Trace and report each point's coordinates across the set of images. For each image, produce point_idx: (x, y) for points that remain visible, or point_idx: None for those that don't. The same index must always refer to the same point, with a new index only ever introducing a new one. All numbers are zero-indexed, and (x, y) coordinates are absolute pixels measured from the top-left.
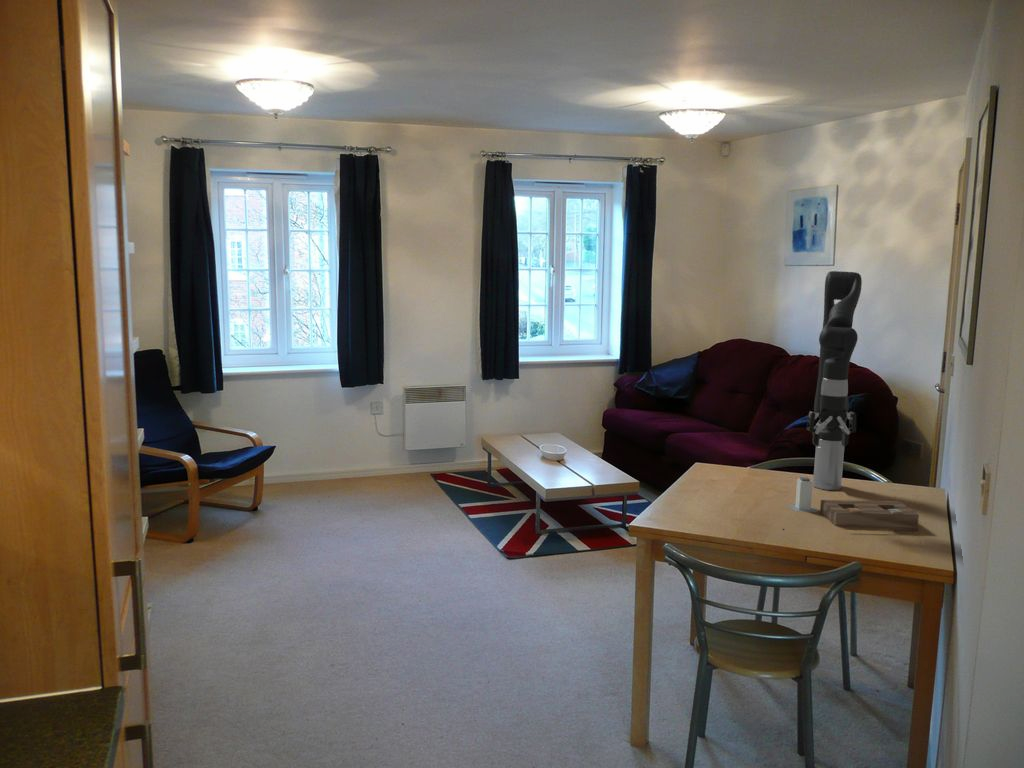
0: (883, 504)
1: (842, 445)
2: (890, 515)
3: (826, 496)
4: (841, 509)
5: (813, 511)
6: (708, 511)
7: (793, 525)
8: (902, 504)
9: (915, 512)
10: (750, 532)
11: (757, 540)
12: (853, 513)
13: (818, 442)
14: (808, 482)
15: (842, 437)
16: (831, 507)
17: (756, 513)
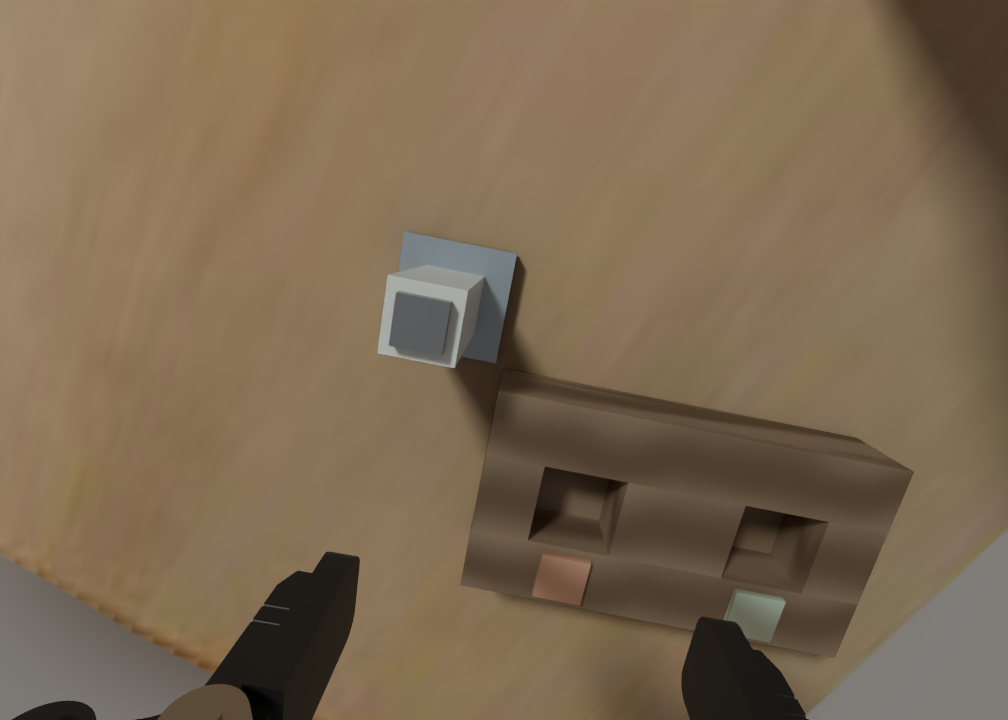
0: (783, 506)
1: (692, 637)
2: None
3: (746, 28)
4: (512, 549)
5: (476, 357)
6: (3, 234)
7: (324, 468)
8: (884, 520)
9: (841, 634)
10: (121, 519)
11: (123, 597)
12: (538, 598)
13: (330, 666)
14: (428, 361)
15: (742, 717)
16: (480, 516)
17: (222, 292)
